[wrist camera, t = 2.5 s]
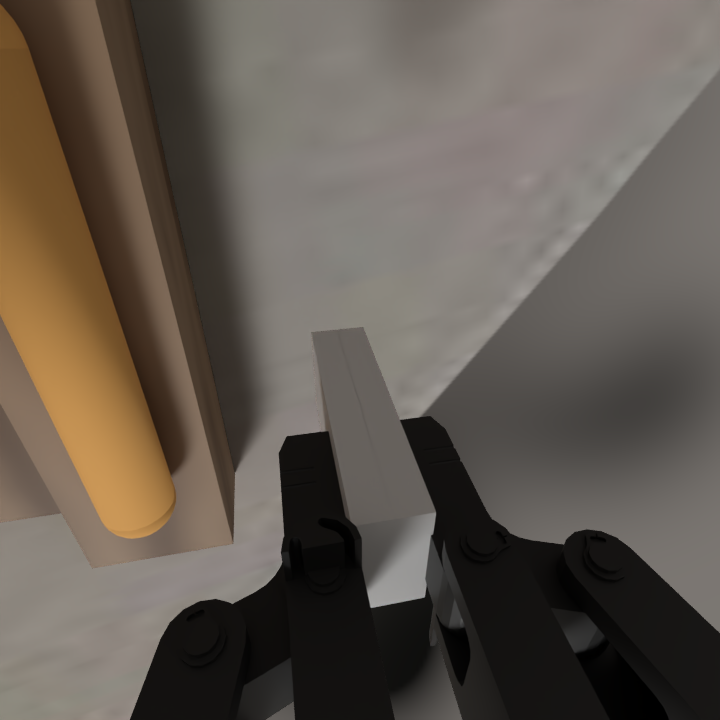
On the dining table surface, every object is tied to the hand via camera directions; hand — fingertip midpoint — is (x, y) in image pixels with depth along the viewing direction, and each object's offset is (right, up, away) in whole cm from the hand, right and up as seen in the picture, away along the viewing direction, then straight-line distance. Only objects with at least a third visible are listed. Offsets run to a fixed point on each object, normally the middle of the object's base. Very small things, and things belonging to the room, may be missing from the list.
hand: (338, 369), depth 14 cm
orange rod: (-9, +2, +3) cm, 10 cm away
